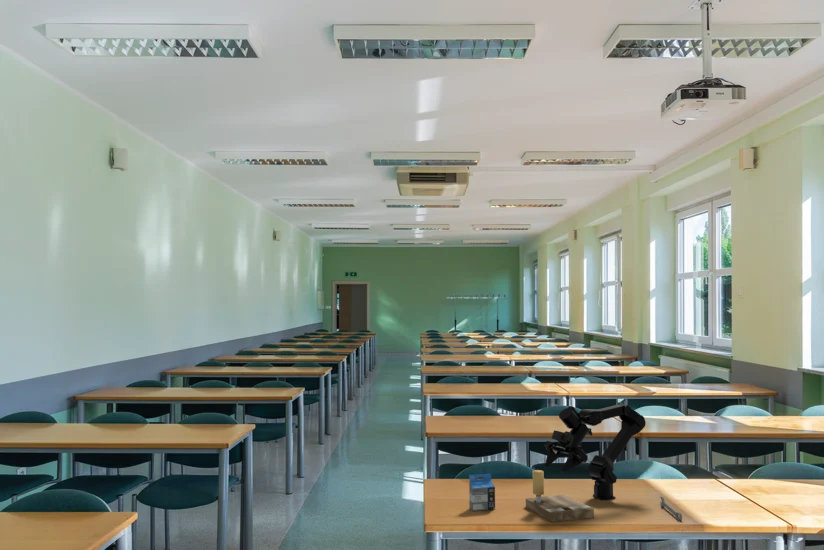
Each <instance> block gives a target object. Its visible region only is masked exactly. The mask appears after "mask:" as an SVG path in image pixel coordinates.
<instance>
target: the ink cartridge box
mask: <svg viewBox="0 0 824 550" xmlns="http://www.w3.org/2000/svg"><path fill="white" fill-rule="evenodd" d="M468 476H469V477H468V478H469V482H468V483H469V486H468V488H469V492H468V495H469V497H468V499H469V500H468V504H469V506H468V507H469V510H471V511H472V512H478V511H480V512H481V511H489V510H490V511H491V510H496V487H495V485H494V484H493V481H492V473H480V474H469V475H468ZM478 478H479V479H478Z"/></svg>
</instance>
